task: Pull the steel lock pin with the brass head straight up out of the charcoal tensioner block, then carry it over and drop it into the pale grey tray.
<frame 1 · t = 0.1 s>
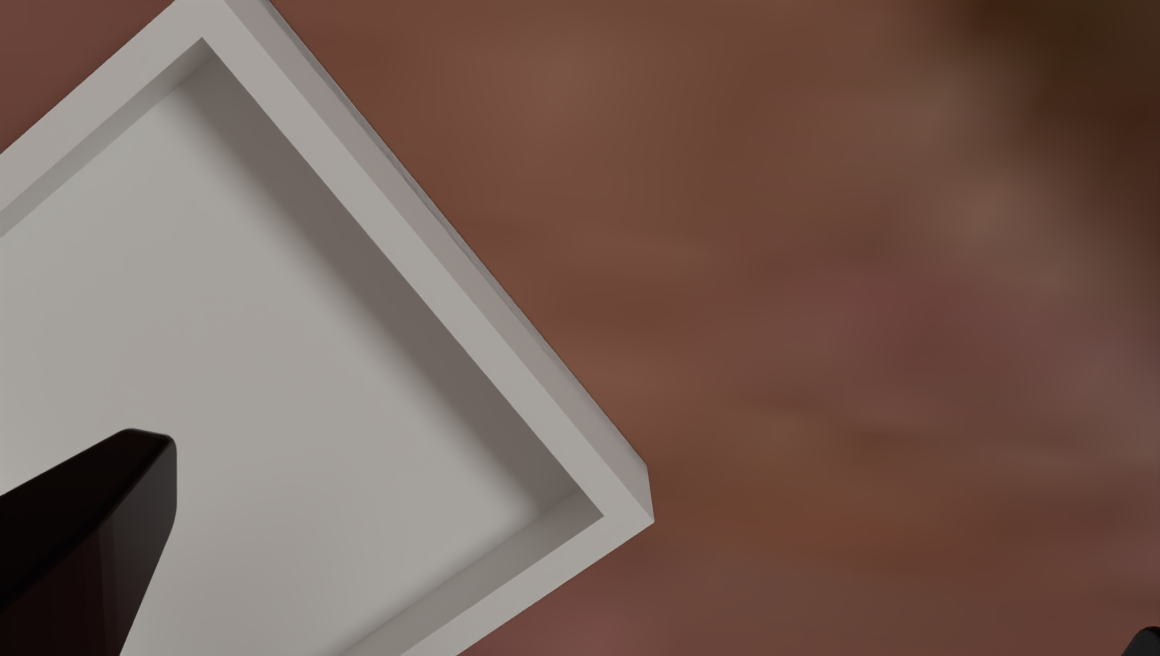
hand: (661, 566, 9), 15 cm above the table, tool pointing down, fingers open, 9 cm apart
tray: (235, 414, 26), on the table
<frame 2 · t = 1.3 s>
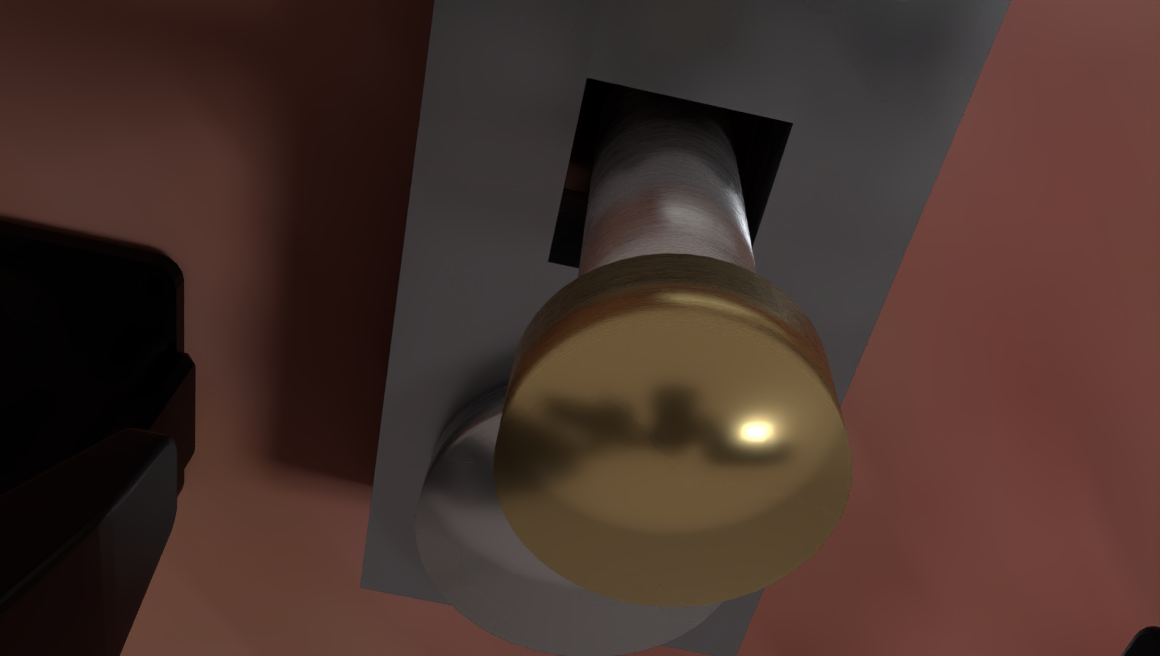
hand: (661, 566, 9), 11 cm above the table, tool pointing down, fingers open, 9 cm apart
tensioner block: (627, 269, 20), on the table
lock pin: (663, 128, 19), resting in tensioner block
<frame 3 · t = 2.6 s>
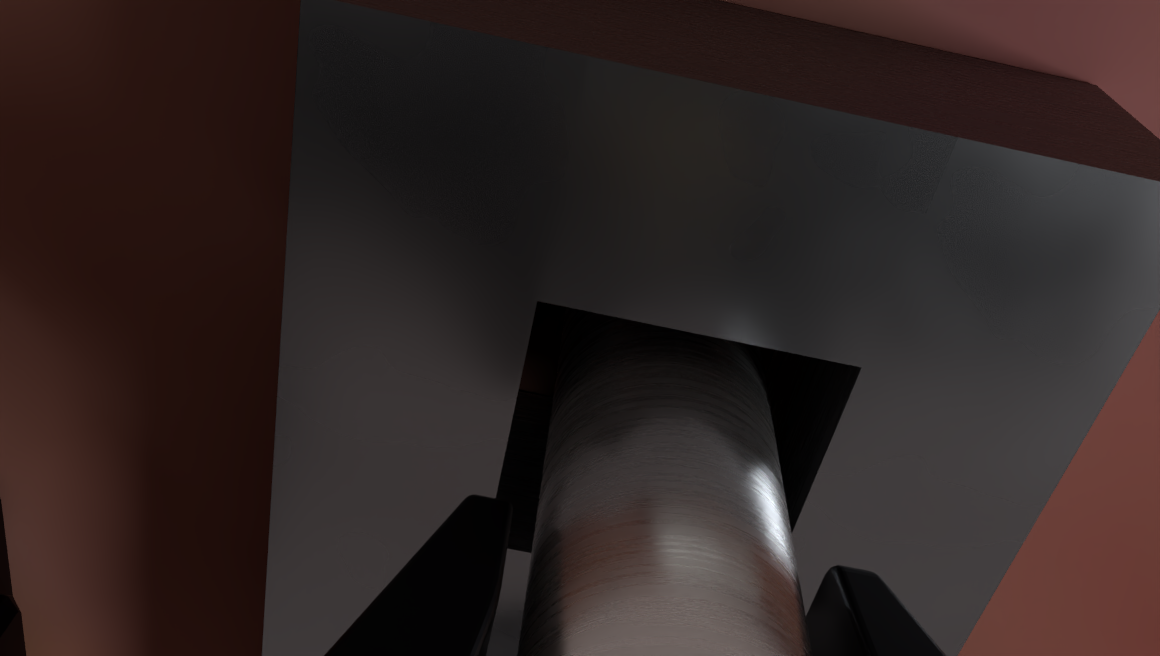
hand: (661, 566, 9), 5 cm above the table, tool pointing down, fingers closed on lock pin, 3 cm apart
tensioner block: (608, 490, 15), on the table
lock pin: (658, 314, 13), resting in tensioner block, touching gripper
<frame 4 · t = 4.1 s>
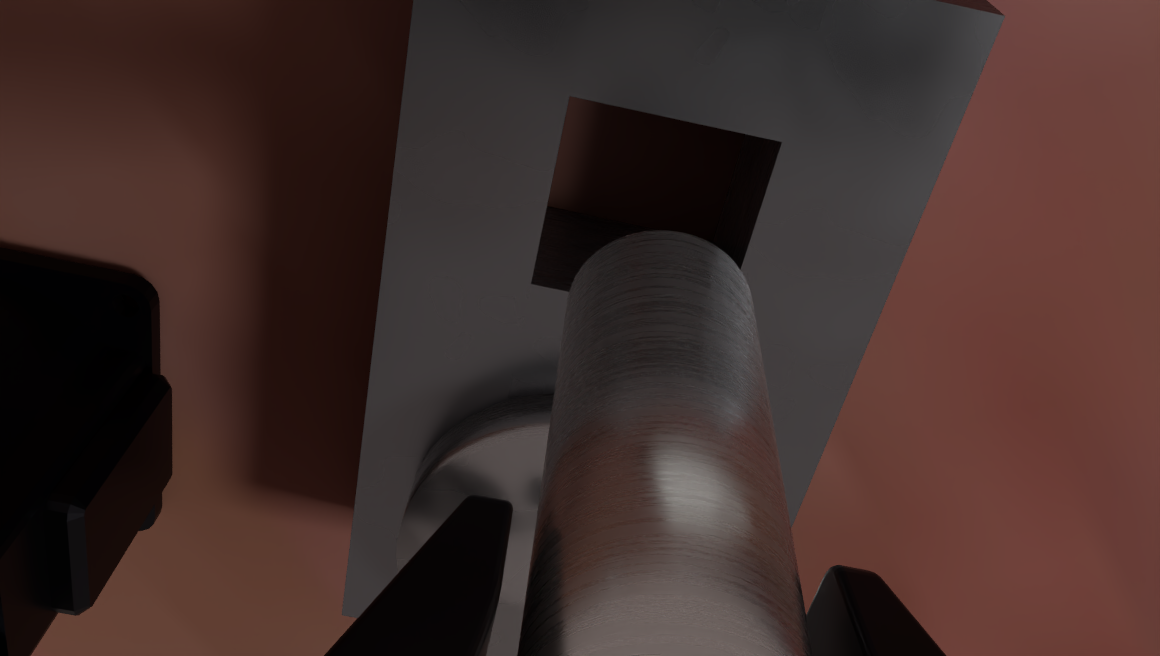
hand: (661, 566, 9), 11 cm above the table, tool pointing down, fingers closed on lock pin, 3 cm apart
tensioner block: (613, 287, 20), on the table
lock pin: (659, 314, 13), point 6 cm above the table, touching gripper
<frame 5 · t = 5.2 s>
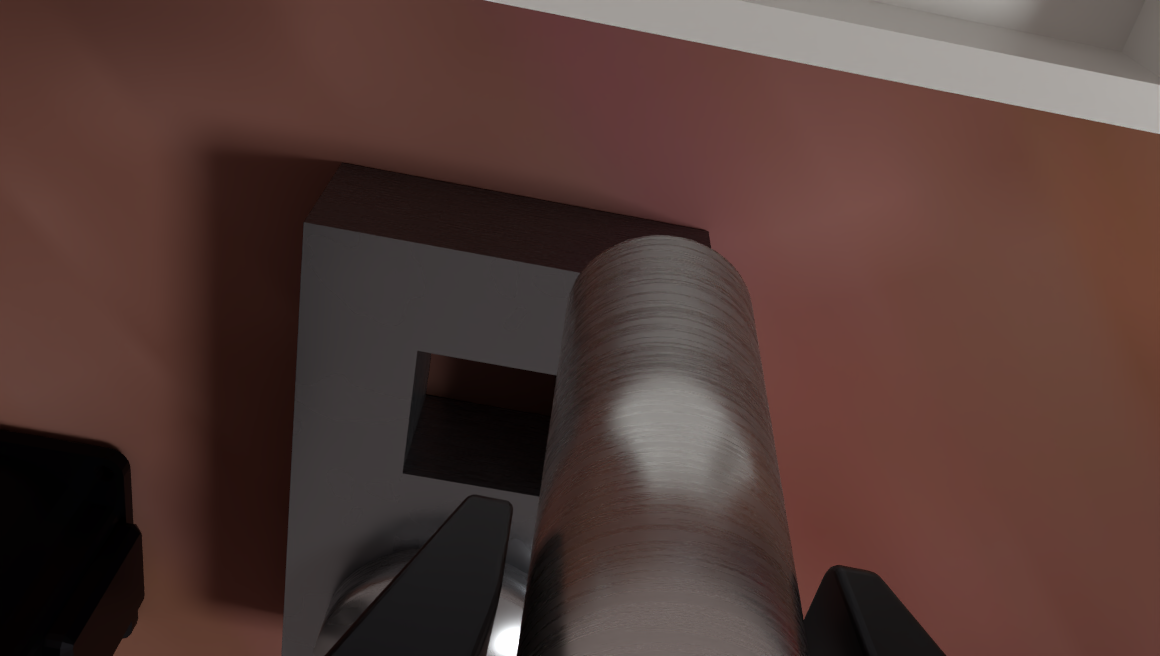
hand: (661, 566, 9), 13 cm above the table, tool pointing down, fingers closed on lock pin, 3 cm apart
tensioner block: (483, 451, 26), on the table
lock pin: (658, 319, 13), point 9 cm above the table, touching gripper
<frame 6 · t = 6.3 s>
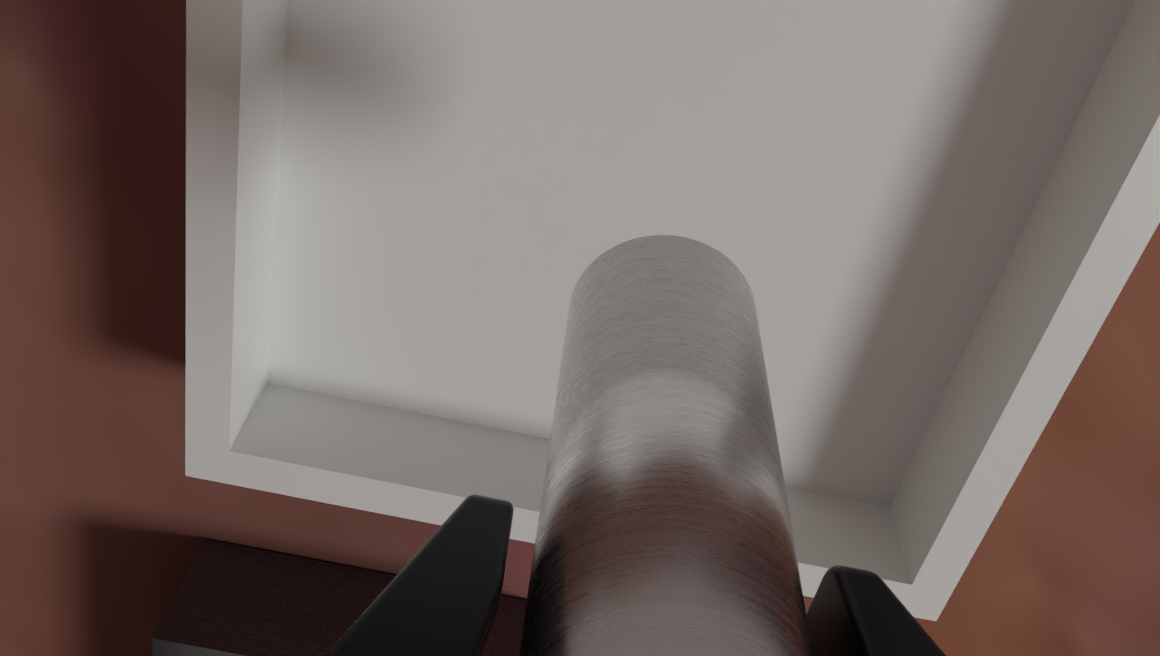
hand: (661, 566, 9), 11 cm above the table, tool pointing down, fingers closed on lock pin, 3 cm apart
tray: (660, 137, 18), on the table
lock pin: (661, 319, 13), point 6 cm above the table, touching gripper
when the fingers open (7 cm above the table, at t = 7.4 s): lock pin stays where it is, point 2 cm above the table.
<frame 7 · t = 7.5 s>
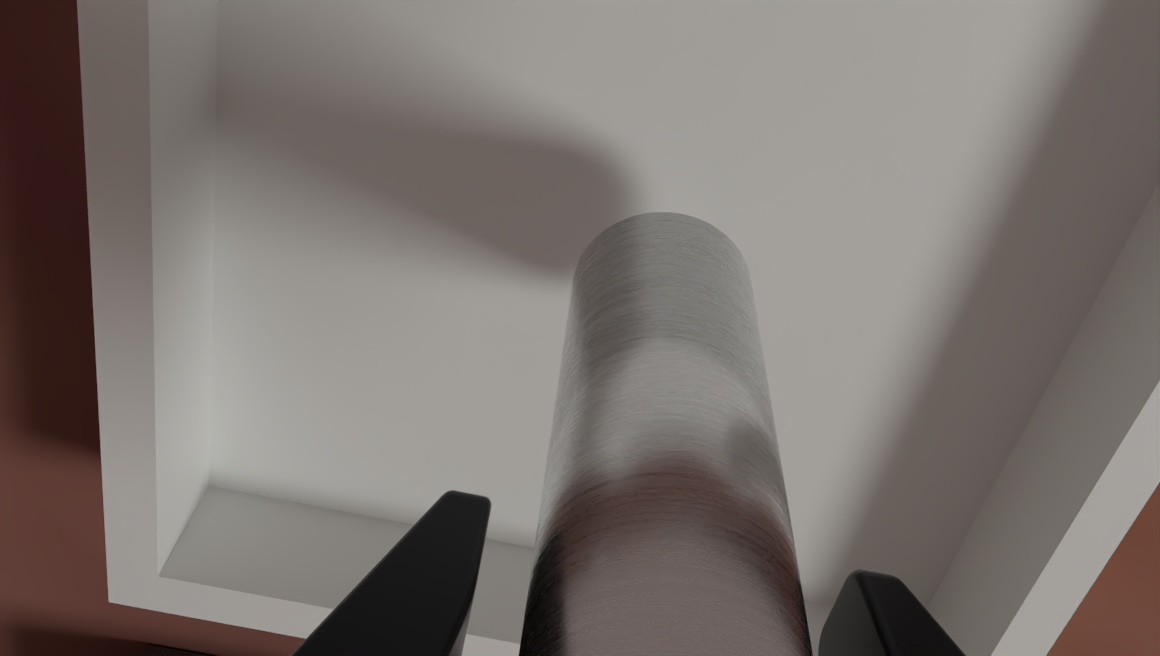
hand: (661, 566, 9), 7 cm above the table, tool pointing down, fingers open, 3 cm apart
tray: (657, 214, 16), on the table
lock pin: (661, 293, 14), point 2 cm above the table
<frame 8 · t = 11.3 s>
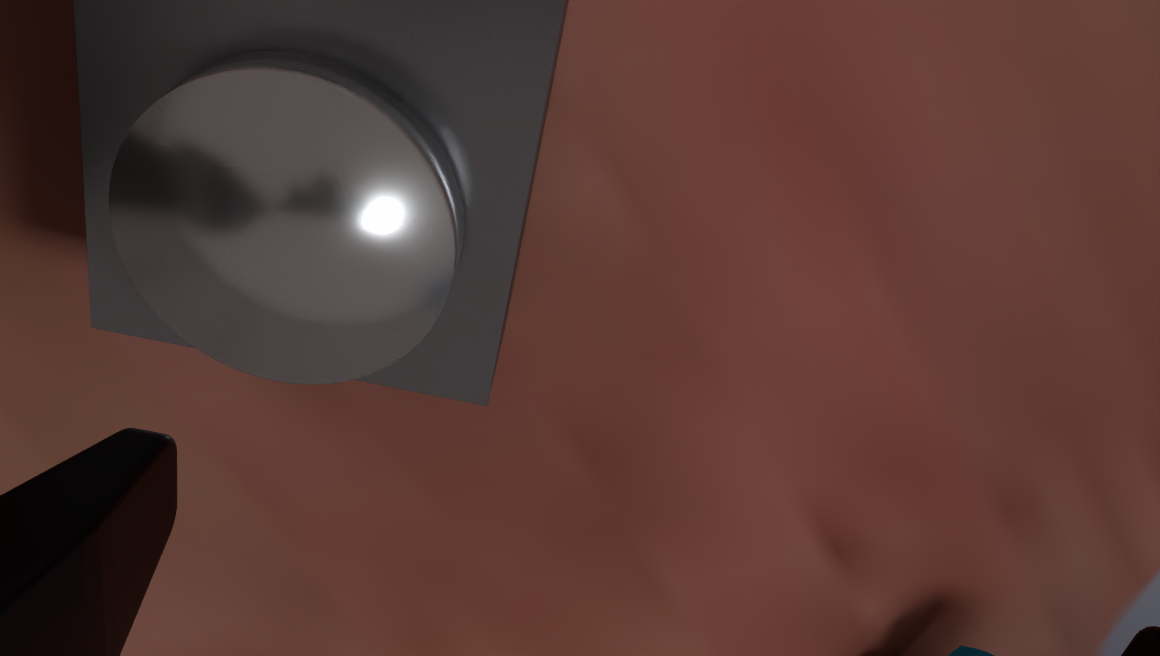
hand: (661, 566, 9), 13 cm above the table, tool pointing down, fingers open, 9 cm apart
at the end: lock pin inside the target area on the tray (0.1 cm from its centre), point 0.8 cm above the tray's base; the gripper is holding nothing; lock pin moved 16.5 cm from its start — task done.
